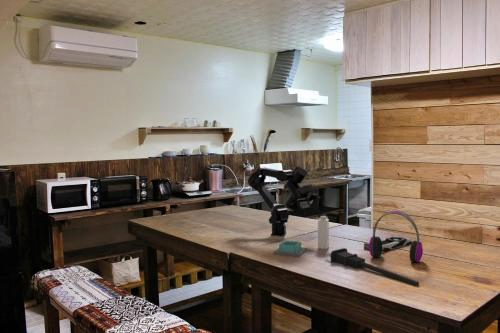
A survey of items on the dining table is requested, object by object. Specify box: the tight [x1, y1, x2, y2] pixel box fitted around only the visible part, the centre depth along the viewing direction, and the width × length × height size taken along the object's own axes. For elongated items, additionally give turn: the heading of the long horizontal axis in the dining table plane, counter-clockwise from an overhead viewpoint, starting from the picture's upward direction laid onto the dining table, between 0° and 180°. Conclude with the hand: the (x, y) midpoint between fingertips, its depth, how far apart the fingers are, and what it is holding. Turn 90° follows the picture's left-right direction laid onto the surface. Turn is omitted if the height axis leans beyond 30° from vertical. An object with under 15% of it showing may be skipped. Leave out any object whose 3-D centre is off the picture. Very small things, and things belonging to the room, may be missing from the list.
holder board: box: [272, 240, 308, 258], centre depth 188 cm, size 12×12×4 cm
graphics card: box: [363, 235, 413, 254], centre depth 194 cm, size 10×3×25 cm
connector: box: [317, 215, 330, 250], centre depth 194 cm, size 4×4×14 cm
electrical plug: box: [325, 247, 420, 287], centre depth 161 cm, size 9×42×5 cm, turn 34°
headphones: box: [368, 210, 424, 264], centre depth 174 cm, size 21×9×20 cm, turn 59°
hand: (312, 214), depth 200 cm, fingers open, 9 cm apart
